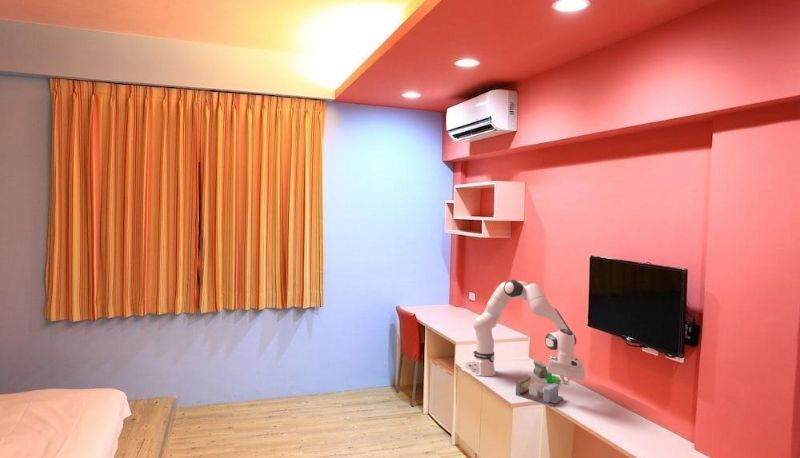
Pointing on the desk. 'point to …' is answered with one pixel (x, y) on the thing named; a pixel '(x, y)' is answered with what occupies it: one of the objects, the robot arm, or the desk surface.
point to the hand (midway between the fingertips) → (565, 384)
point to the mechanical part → (552, 379)
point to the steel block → (536, 389)
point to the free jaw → (551, 393)
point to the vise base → (523, 391)
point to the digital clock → (540, 369)
